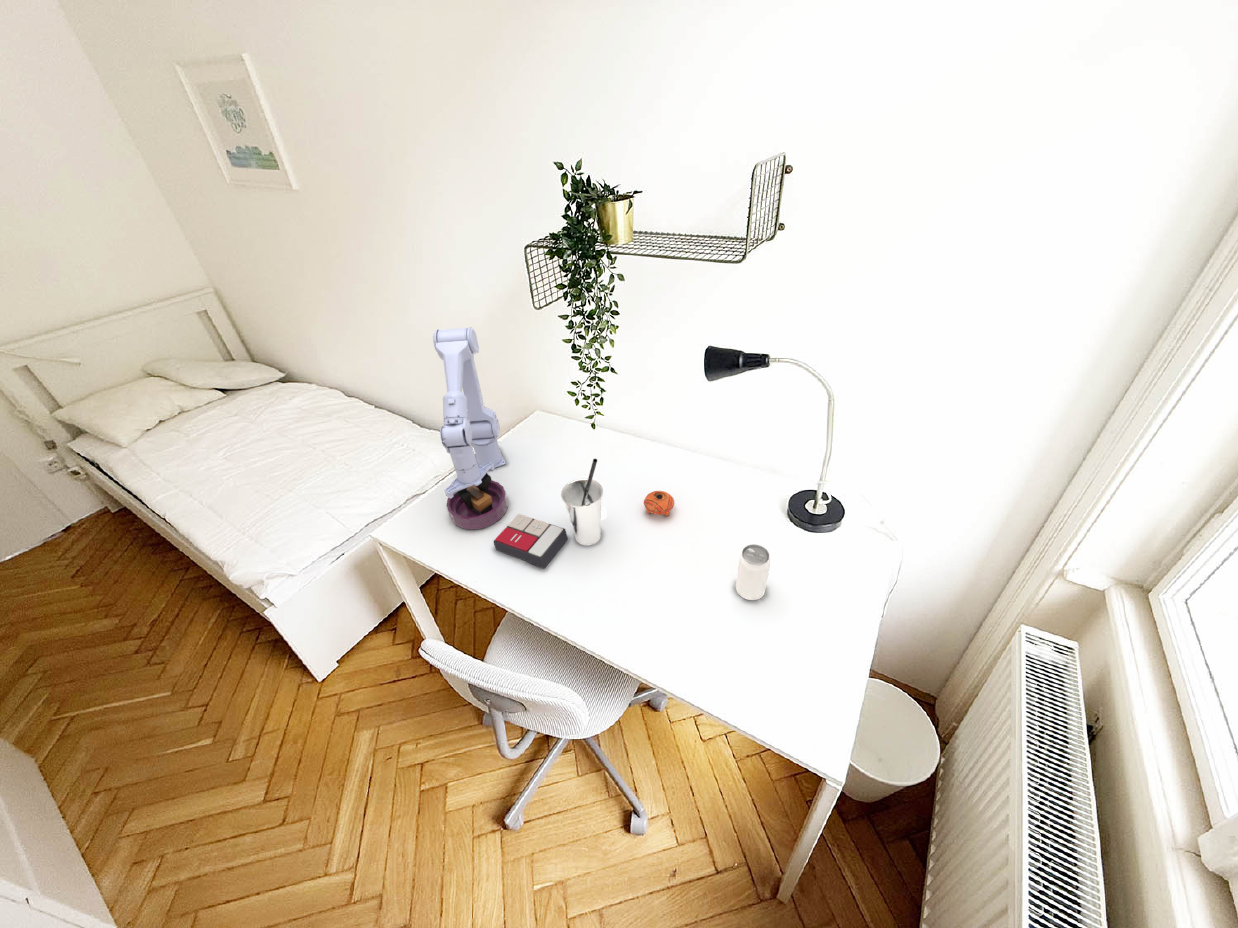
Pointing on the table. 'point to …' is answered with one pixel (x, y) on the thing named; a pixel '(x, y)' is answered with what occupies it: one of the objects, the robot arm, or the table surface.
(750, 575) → the can
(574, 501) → the metal cup with straw
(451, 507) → the bowl
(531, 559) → the calculator
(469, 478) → the robot arm
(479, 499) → the scrub brush
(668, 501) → the pot
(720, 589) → the table surface
